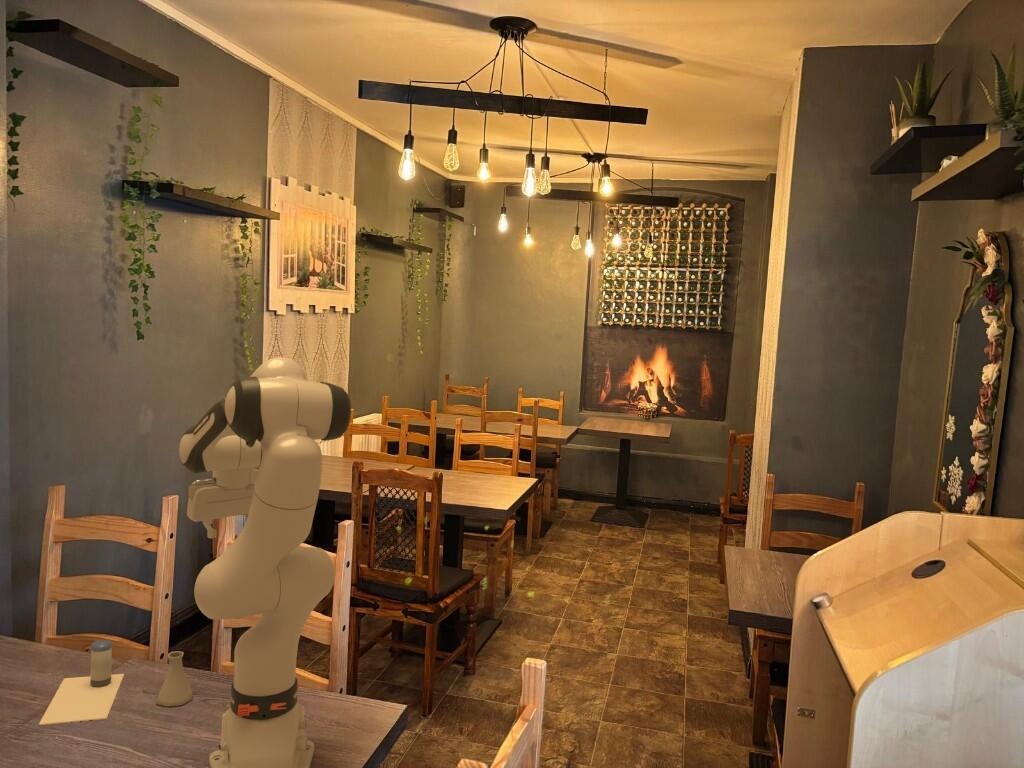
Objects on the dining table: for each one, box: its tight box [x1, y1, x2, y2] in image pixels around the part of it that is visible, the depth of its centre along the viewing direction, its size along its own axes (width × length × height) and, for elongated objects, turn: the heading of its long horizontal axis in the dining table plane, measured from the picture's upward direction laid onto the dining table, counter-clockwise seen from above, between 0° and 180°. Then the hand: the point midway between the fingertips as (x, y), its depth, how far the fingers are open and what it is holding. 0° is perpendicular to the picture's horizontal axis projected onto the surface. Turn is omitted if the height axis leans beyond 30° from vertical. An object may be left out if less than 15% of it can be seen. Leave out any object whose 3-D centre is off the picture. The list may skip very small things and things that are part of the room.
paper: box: [38, 673, 125, 726], centre depth 163 cm, size 20×12×1 cm, turn 18°
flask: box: [156, 650, 194, 707], centre depth 164 cm, size 7×7×10 cm
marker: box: [90, 639, 113, 688], centre depth 169 cm, size 4×4×9 cm
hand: (231, 534), depth 181 cm, fingers open, 8 cm apart
